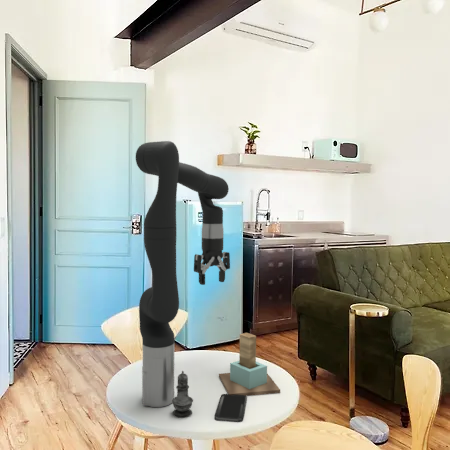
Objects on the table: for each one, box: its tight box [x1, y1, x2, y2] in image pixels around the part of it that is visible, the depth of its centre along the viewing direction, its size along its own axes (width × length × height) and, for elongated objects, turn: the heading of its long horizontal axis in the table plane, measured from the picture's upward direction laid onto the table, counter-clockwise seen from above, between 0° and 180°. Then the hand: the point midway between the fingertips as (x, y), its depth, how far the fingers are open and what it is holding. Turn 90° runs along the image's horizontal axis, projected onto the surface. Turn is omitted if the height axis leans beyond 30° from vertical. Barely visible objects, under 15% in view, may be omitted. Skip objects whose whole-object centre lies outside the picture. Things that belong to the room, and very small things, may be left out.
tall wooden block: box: [238, 332, 257, 369], centre depth 144 cm, size 3×4×14 cm, turn 39°
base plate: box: [218, 372, 281, 397], centre depth 145 cm, size 16×16×1 cm
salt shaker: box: [171, 370, 194, 419], centre depth 125 cm, size 6×6×12 cm
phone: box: [214, 393, 248, 423], centre depth 128 cm, size 8×1×15 cm
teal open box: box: [229, 360, 268, 389], centre depth 144 cm, size 8×9×6 cm
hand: (212, 283), depth 157 cm, fingers open, 8 cm apart
